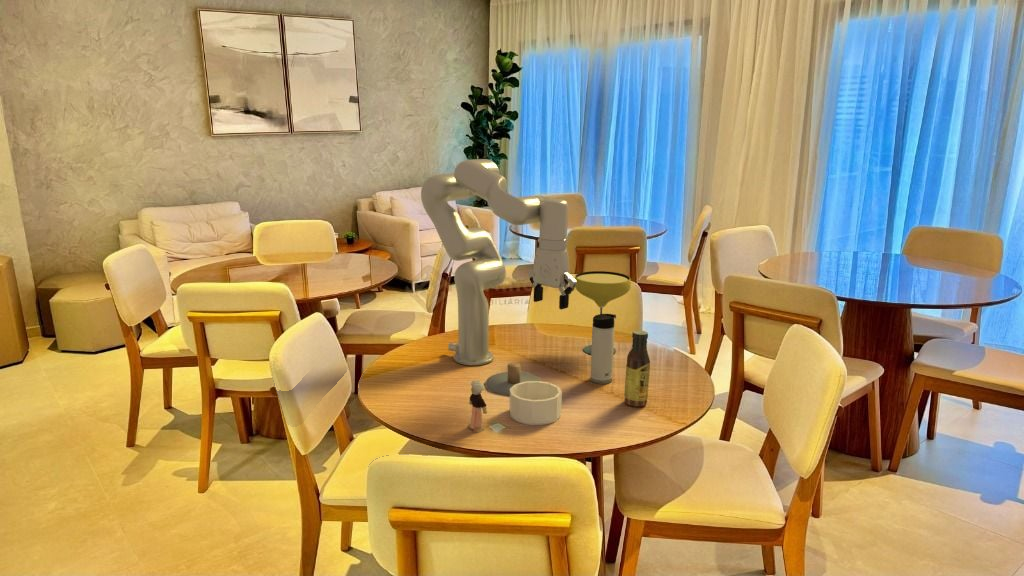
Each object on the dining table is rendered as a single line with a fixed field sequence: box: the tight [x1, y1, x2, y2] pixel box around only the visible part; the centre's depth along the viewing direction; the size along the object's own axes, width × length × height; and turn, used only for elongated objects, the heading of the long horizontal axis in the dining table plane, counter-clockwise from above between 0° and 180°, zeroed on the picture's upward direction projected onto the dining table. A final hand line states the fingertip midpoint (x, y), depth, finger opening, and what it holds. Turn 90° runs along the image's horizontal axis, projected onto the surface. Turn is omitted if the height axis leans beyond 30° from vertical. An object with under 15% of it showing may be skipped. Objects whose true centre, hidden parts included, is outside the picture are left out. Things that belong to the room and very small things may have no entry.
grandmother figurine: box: [467, 379, 488, 433], centre depth 162 cm, size 8×4×13 cm, turn 45°
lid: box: [485, 362, 542, 397], centre depth 190 cm, size 16×16×6 cm
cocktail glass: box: [574, 270, 632, 356], centre depth 217 cm, size 18×18×25 cm
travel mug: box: [590, 313, 617, 385], centre depth 192 cm, size 6×7×20 cm
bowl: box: [509, 380, 563, 426], centre depth 171 cm, size 13×13×6 cm
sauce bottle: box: [624, 330, 651, 408], centre depth 177 cm, size 6×6×20 cm
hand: (550, 304), depth 186 cm, fingers open, 9 cm apart
